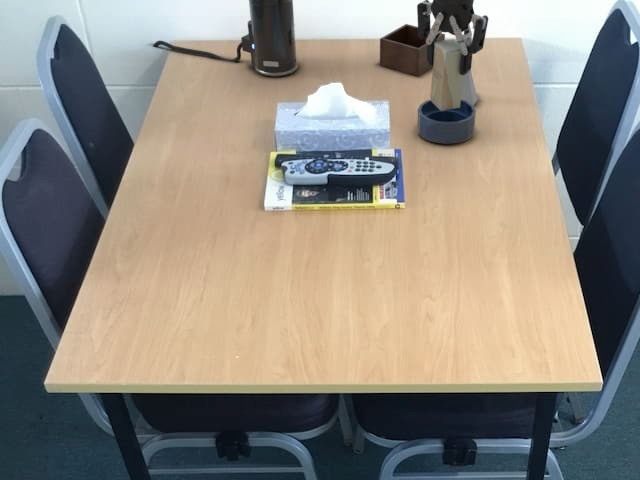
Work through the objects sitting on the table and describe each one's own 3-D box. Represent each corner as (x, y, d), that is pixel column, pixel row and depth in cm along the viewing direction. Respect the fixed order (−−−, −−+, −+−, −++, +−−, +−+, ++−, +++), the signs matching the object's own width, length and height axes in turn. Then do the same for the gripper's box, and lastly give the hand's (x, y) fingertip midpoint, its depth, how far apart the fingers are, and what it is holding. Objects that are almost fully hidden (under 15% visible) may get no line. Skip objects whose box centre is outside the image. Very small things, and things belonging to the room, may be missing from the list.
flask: (478, 93, 183) (482, 44, 175) (477, 109, 178) (482, 58, 171) (444, 92, 183) (447, 42, 176) (442, 107, 179) (445, 57, 171)
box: (429, 100, 168) (433, 40, 160) (449, 97, 169) (453, 37, 161) (441, 112, 165) (445, 51, 157) (461, 108, 166) (466, 48, 158)
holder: (379, 65, 192) (379, 38, 188) (405, 49, 198) (406, 23, 194) (418, 76, 188) (419, 49, 184) (443, 60, 194) (445, 34, 190)
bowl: (406, 135, 170) (407, 113, 167) (436, 114, 176) (438, 92, 173) (454, 151, 166) (456, 128, 163) (484, 129, 172) (486, 106, 169)
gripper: (502, -28, 149) (491, 72, 161) (432, -45, 154) (427, 53, 167) (479, -15, 145) (470, 86, 157) (409, -33, 150) (405, 66, 163)
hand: (448, 68), depth 162 cm, fingers closed on box, 6 cm apart
